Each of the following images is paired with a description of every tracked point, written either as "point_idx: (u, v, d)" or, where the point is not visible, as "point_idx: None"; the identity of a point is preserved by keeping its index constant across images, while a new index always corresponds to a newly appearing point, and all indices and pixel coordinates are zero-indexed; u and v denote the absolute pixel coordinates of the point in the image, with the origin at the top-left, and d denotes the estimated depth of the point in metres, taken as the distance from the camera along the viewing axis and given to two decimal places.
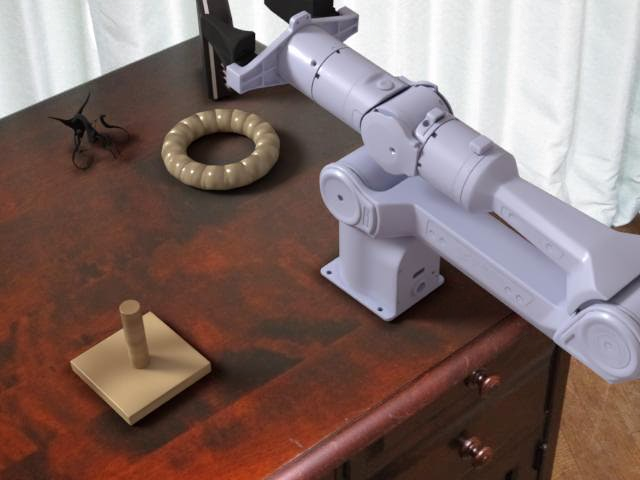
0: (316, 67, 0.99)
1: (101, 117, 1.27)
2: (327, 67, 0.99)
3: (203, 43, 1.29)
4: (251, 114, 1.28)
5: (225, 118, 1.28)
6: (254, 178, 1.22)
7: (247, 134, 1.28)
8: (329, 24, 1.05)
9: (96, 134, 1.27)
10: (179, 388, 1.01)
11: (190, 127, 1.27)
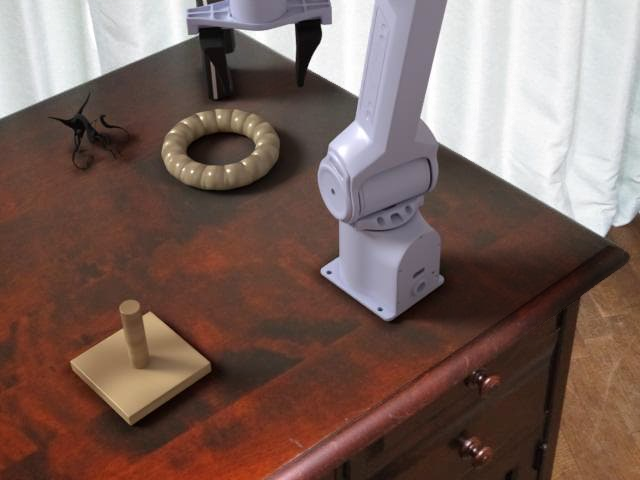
0: None
1: (101, 117, 1.27)
2: None
3: None
4: (251, 114, 1.28)
5: (225, 118, 1.28)
6: (254, 178, 1.22)
7: (247, 134, 1.28)
8: (296, 3, 1.16)
9: (96, 134, 1.27)
10: (179, 388, 1.01)
11: (190, 127, 1.27)
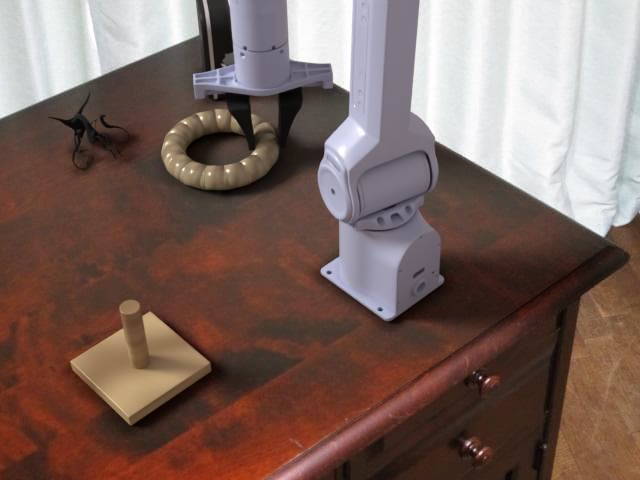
0: None
1: (101, 117, 1.27)
2: None
3: (203, 43, 1.29)
4: (251, 114, 1.28)
5: (225, 118, 1.28)
6: (254, 178, 1.22)
7: None
8: (298, 68, 1.21)
9: (96, 134, 1.27)
10: (179, 388, 1.01)
11: (190, 127, 1.27)
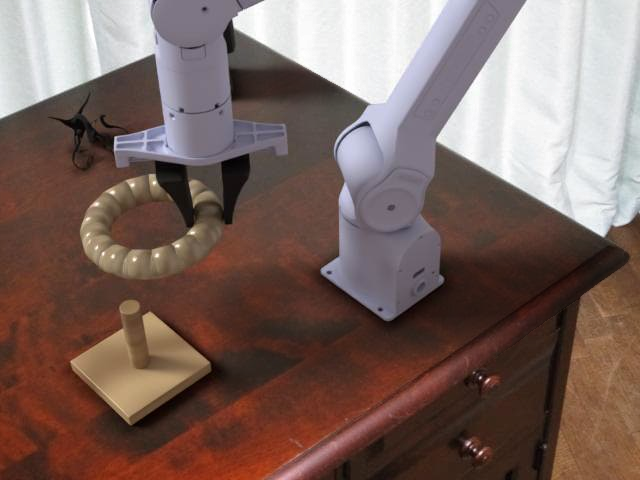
0: None
1: (101, 117, 1.27)
2: (169, 102, 0.92)
3: None
4: (191, 180, 1.05)
5: None
6: (189, 264, 0.99)
7: None
8: (245, 130, 0.98)
9: (96, 134, 1.27)
10: (179, 388, 1.01)
11: (117, 198, 1.05)
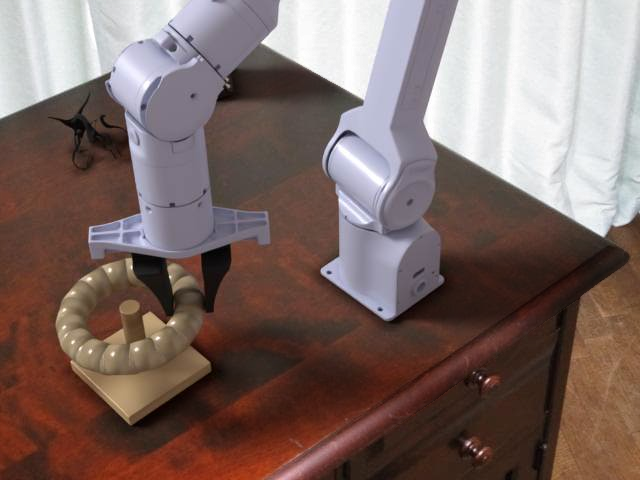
0: None
1: (101, 117, 1.27)
2: (157, 199, 0.87)
3: None
4: (170, 265, 1.01)
5: None
6: (169, 358, 0.95)
7: None
8: (226, 217, 0.94)
9: (96, 134, 1.27)
10: (179, 388, 1.01)
11: (93, 286, 1.00)
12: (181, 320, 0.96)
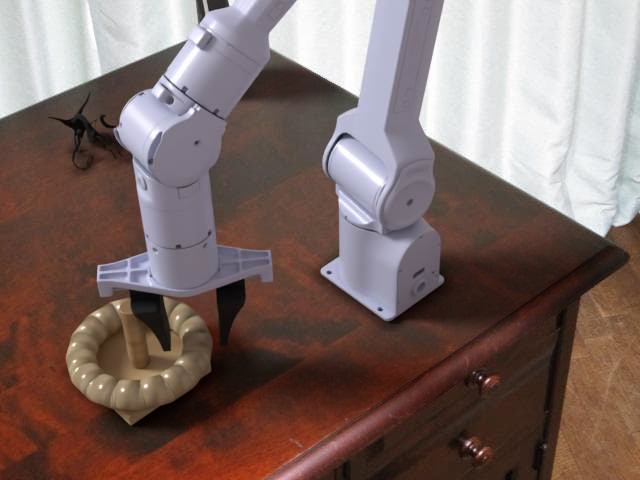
0: None
1: (101, 117, 1.27)
2: (164, 241, 0.90)
3: None
4: (179, 304, 1.05)
5: None
6: (178, 395, 0.98)
7: (173, 330, 1.04)
8: (230, 256, 0.97)
9: (96, 134, 1.27)
10: None
11: (103, 322, 1.03)
12: (190, 359, 1.00)
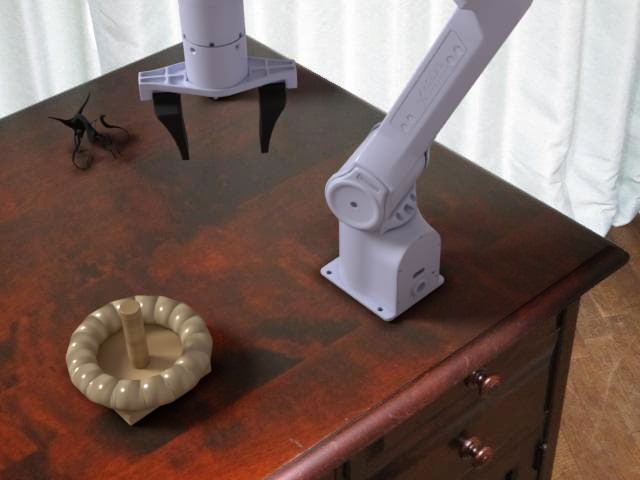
0: None
1: (101, 117, 1.27)
2: (181, 26, 1.02)
3: None
4: (179, 304, 1.05)
5: (147, 309, 1.05)
6: (178, 395, 0.98)
7: (173, 330, 1.04)
8: (258, 65, 1.07)
9: (96, 134, 1.27)
10: None
11: (103, 322, 1.03)
12: (190, 359, 1.00)
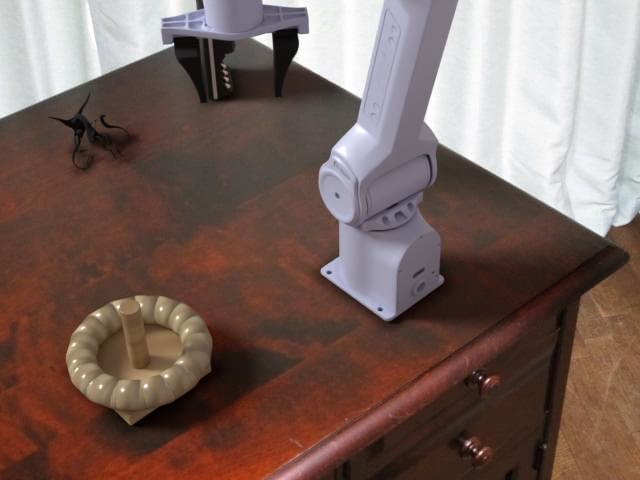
0: None
1: (101, 117, 1.27)
2: None
3: (203, 43, 1.29)
4: (179, 304, 1.05)
5: (147, 309, 1.05)
6: (178, 395, 0.98)
7: (173, 330, 1.04)
8: (272, 12, 1.14)
9: (96, 134, 1.27)
10: None
11: (103, 322, 1.03)
12: (190, 359, 1.00)
